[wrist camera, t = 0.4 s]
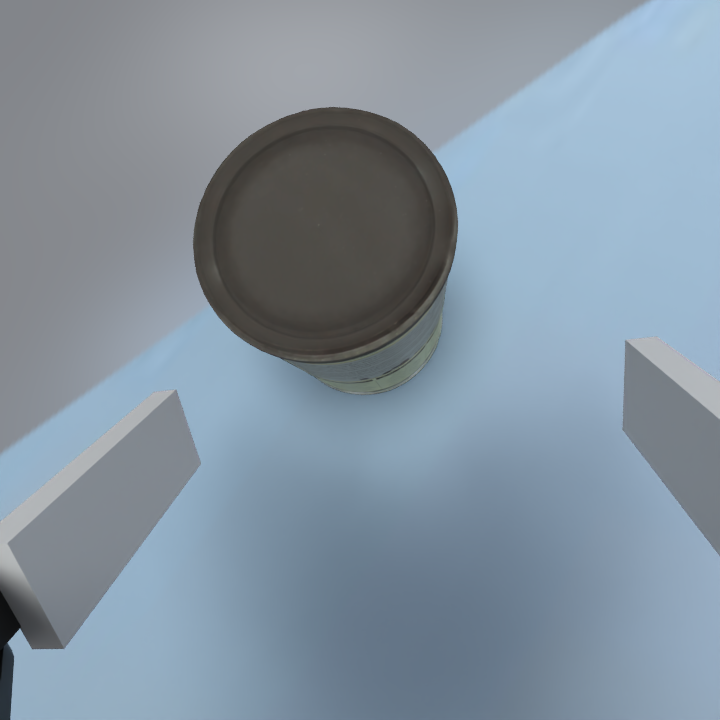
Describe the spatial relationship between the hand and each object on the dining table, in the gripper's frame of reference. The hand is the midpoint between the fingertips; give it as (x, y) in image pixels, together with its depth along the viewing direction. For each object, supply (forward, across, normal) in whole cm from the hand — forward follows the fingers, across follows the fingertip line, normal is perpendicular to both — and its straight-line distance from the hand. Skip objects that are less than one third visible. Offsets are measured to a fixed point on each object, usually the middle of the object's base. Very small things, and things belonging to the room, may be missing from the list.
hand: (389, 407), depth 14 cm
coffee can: (+18, +3, +2) cm, 18 cm away
